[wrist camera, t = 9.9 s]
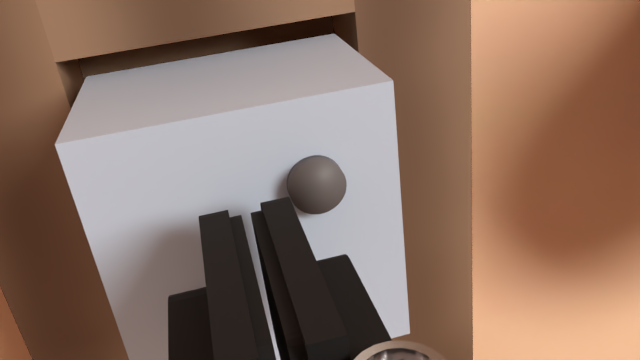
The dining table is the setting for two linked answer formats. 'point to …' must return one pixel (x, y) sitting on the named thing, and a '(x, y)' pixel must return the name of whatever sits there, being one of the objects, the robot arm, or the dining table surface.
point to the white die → (235, 172)
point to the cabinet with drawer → (203, 21)
